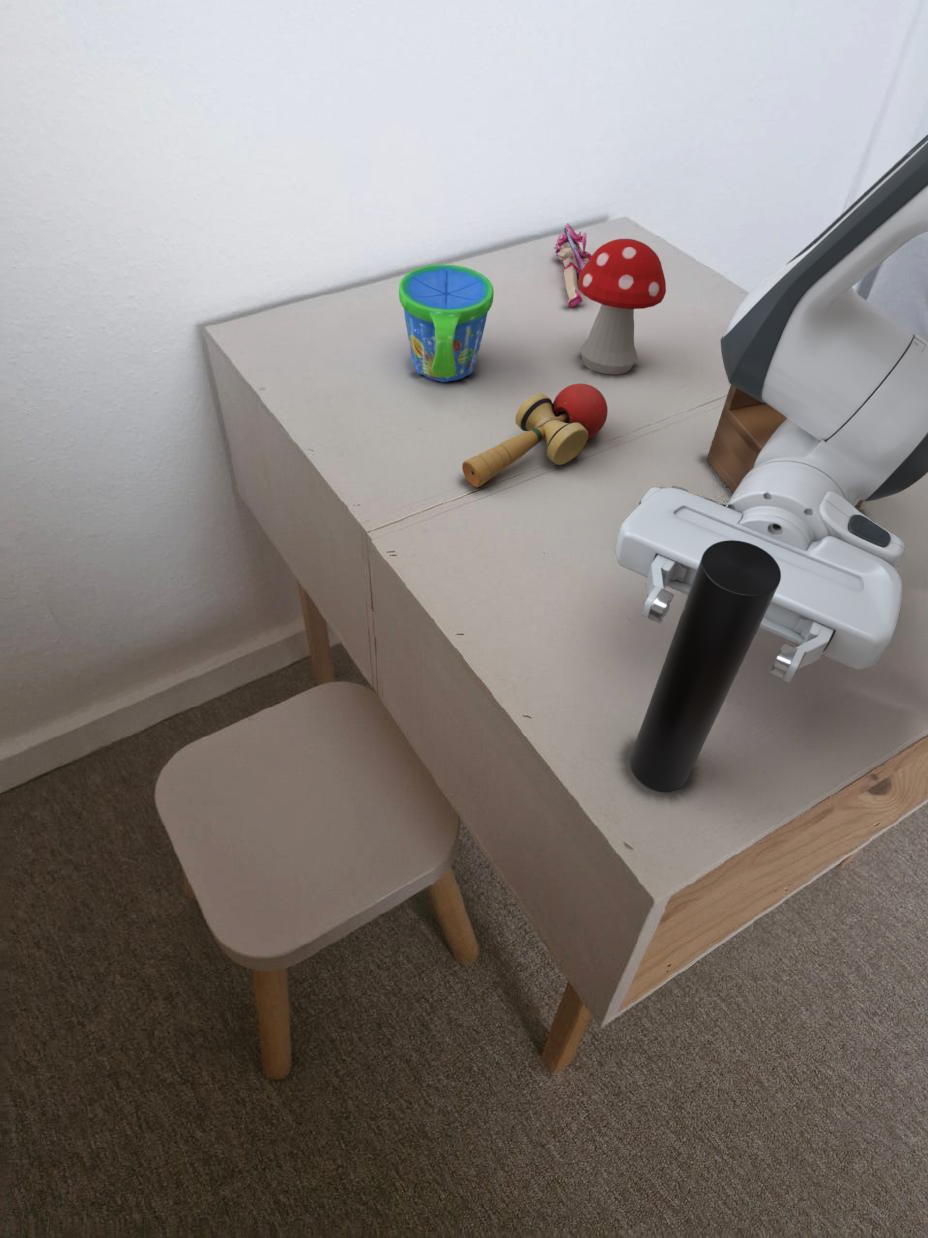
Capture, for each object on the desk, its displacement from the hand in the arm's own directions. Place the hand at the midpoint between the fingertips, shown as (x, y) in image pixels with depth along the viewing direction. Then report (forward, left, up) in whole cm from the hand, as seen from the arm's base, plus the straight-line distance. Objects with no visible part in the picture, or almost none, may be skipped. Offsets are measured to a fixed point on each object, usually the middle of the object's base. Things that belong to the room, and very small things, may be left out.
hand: (715, 642), depth 58 cm
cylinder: (0, +3, -12) cm, 13 cm away
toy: (+39, -64, -13) cm, 76 cm away
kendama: (+26, -26, -13) cm, 39 cm away
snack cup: (+43, -35, -13) cm, 57 cm away
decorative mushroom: (+27, -47, -13) cm, 56 cm away
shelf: (+2, -36, -12) cm, 38 cm away
